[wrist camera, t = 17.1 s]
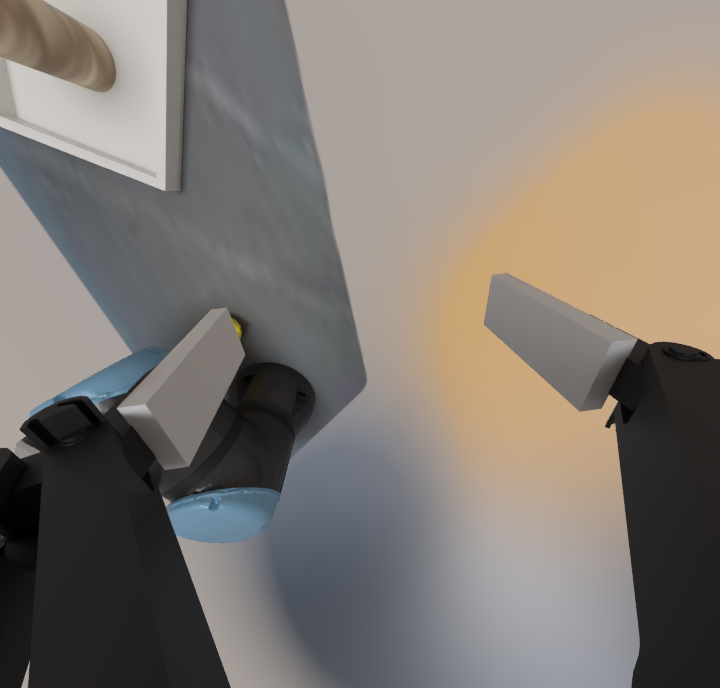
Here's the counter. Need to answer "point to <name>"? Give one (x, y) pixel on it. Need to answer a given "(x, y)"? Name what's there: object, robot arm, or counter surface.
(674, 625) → the robot arm
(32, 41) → the dowel
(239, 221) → the counter surface
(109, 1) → the tray
